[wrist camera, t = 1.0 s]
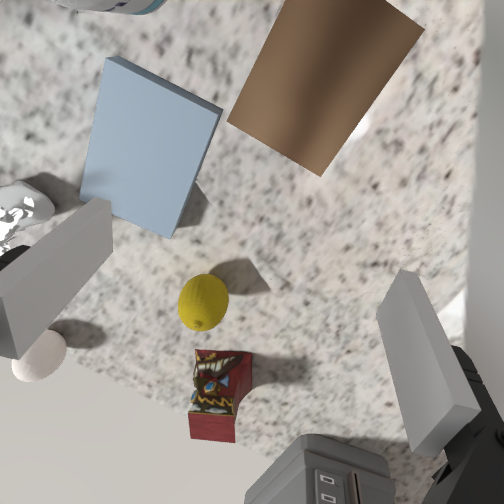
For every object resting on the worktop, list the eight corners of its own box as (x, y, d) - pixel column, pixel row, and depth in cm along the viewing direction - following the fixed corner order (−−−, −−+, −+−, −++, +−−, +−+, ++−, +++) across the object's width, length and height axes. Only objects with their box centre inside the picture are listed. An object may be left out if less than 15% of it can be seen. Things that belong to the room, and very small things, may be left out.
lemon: (195, 298, 44) (177, 346, 38) (183, 263, 42) (162, 307, 35) (237, 296, 43) (226, 344, 37) (228, 259, 41) (215, 304, 34)
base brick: (92, 188, 38) (78, 199, 35) (121, 55, 31) (105, 57, 28) (178, 226, 39) (170, 239, 37) (224, 108, 32) (218, 115, 30)
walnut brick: (235, 109, 32) (226, 121, 28) (309, -41, 26) (311, -54, 21) (317, 158, 34) (320, 177, 29) (405, 29, 27) (425, 29, 23)
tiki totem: (252, 351, 49) (244, 411, 41) (252, 389, 53) (245, 449, 46) (192, 346, 50) (173, 404, 42) (197, 384, 54) (181, 442, 47)
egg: (83, 345, 52) (54, 389, 45) (52, 352, 53) (19, 395, 47) (59, 316, 49) (23, 359, 43) (26, 324, 51) (-13, 366, 44)
